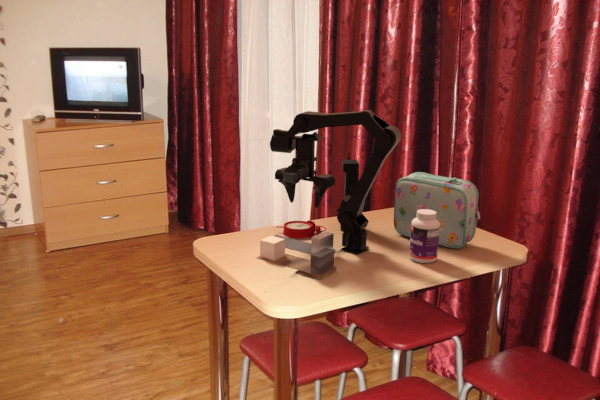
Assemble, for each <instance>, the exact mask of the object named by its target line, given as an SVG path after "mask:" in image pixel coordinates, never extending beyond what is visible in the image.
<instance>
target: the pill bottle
mask: <svg viewBox="0 0 600 400" xmlns="http://www.w3.org/2000/svg"><path fill="white" fill-rule="evenodd" d="M436 214H437V212H436V211H434V210H429V209H420V210H417V217H416V218H414V219H413V220H412V223H411V236H410V237H409V238H410V239H409V250H408V251H409V252H408V253H409V254H408V257H409V258H410V259H411V260H412V261H414V262H416V263H420V264H430V263H433V262H435V261H437V259H438V255H439V245H438V243H439V231H440V223H439V221H438V220H437V219H435V218H436Z"/></svg>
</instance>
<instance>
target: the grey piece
mask: <svg viewBox="0 0 600 400" xmlns="http://www.w3.org/2000/svg"><path fill="white" fill-rule="evenodd" d="M273 236H275V237H279V238H283V239H285V249H288V250H291V251H296V252H299V253H304V254H308V255H311V254H313V253H315V252H317V251H319V250H322V249H324V248H328V249H332V250H334V254H335V253H336V251H335V250H336V249H335V248H334V236H335V235H334V233H333V232H330V231H327V230H326V231H323V232H321V233H320V234H318V235H316V234H315V235H314V236H313V237H312V238H311V242H308V241H305V240H304V241H303V240H298V239H297V238H290V237H286V236H284V235H280V234H274V235H273Z"/></svg>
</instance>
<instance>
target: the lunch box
mask: <svg viewBox="0 0 600 400" xmlns="http://www.w3.org/2000/svg"><path fill="white" fill-rule="evenodd" d="M478 204H479V191H478V188H477V186H476V184H474V183H473V182H471V181H469V180H467V179H463V178H457V177H450V176H449V177H447V176H443V175H436V174H431V173H427V172H423V171H422V172H421V171H416V172H412V173H410V174H409V175H406V176H404V177H401V178H399V179H398V180H397V181H396V185H395V195H394V205H393V206H394V207H393V208H394V209H393V227H394V229H395V231H396V232H397V233H398V234H399V235H401V236H405V237H409V238H410V236H411V223H412V220H413V219H414V218H416V217H417V210H420V209H429V210H434V211H436V212H437V214H436V218H435V219H437V220H438V221H439V223H440V231H439V243H438V246H441V247H445V248H451V249H461V248H462V247H464V246H465V245H466V244H467V243H470V242H471V241H472V240H473V238H474V237H475V234H476V230H477V223H478V220H481V215H480V211H479V207H478Z"/></svg>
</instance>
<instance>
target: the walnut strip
mask: <svg viewBox="0 0 600 400" xmlns="http://www.w3.org/2000/svg"><path fill="white" fill-rule="evenodd" d="M334 252H335V250H332V249H328V248H324V249H322V250H319V251H317V252H315V253H313V254H310V259H307V258H304V257H300V256H295V255H292V254H289V253H285V256H283V257H281V258H279V259H277V260H270V259H266V258H263V257H260V255H259V256H257V257H255V259H257V260H261V261H265V262H268V263H271V264H276V265H280V266H283V267H286V268H290V269H292V270H293V269H294V270H295V271H294V273H296V274H300V275H302V276H306V277H311V278H313V279H317V280H322V279H324V278H325V277H327V276H329V275H330V274H333V273H334V272H337V266H335V253H334Z"/></svg>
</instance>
